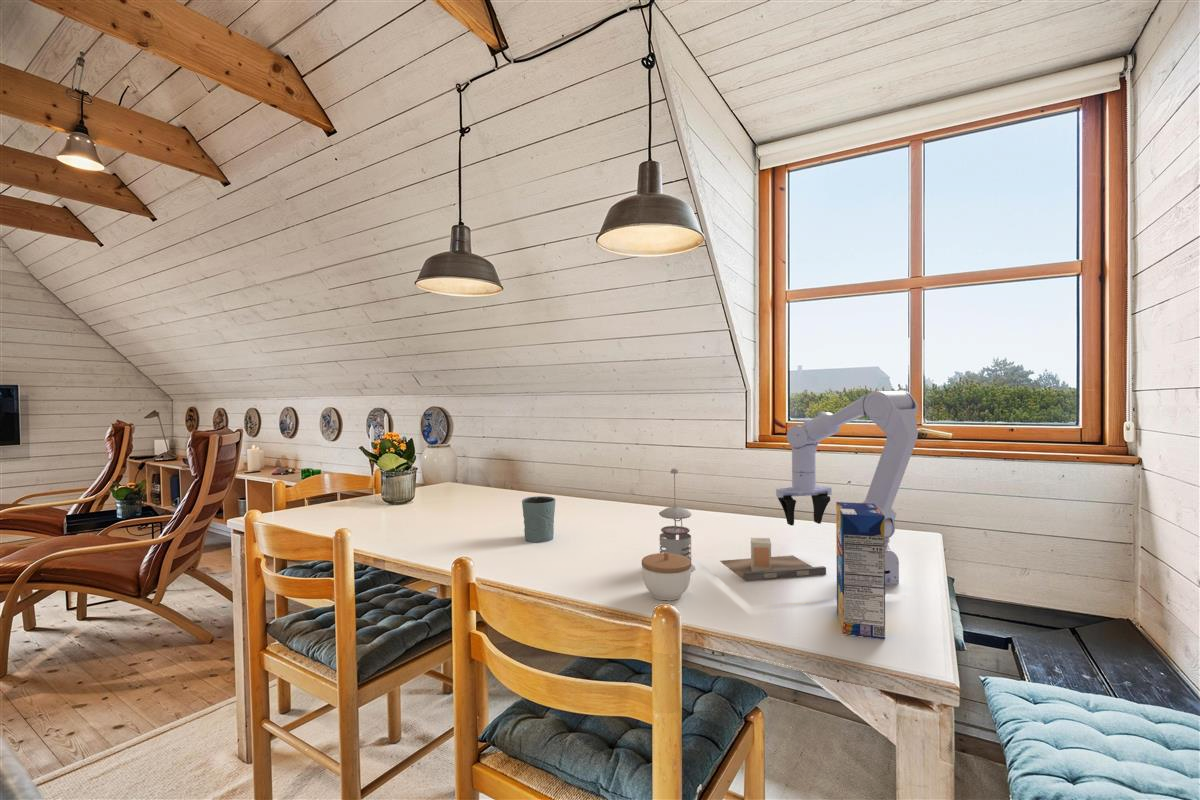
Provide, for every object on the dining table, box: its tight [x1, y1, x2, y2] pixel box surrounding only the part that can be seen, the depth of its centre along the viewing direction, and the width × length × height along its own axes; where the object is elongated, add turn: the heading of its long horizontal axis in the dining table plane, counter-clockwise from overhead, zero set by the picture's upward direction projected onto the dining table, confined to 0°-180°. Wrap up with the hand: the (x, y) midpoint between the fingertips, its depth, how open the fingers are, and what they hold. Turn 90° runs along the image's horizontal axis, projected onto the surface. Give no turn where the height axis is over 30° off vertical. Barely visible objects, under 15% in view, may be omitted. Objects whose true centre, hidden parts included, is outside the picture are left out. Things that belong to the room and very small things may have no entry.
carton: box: [750, 537, 772, 572], centre depth 133 cm, size 5×4×7 cm
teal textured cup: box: [521, 495, 556, 544], centre depth 168 cm, size 10×10×12 cm
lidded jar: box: [641, 552, 692, 602], centre depth 121 cm, size 11×11×9 cm
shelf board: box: [719, 554, 827, 582], centre depth 135 cm, size 15×20×3 cm
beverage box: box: [835, 501, 886, 640], centre depth 104 cm, size 7×11×22 cm, turn 162°
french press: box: [658, 468, 696, 573], centre depth 140 cm, size 10×12×25 cm
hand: (804, 523), depth 144 cm, fingers open, 7 cm apart
